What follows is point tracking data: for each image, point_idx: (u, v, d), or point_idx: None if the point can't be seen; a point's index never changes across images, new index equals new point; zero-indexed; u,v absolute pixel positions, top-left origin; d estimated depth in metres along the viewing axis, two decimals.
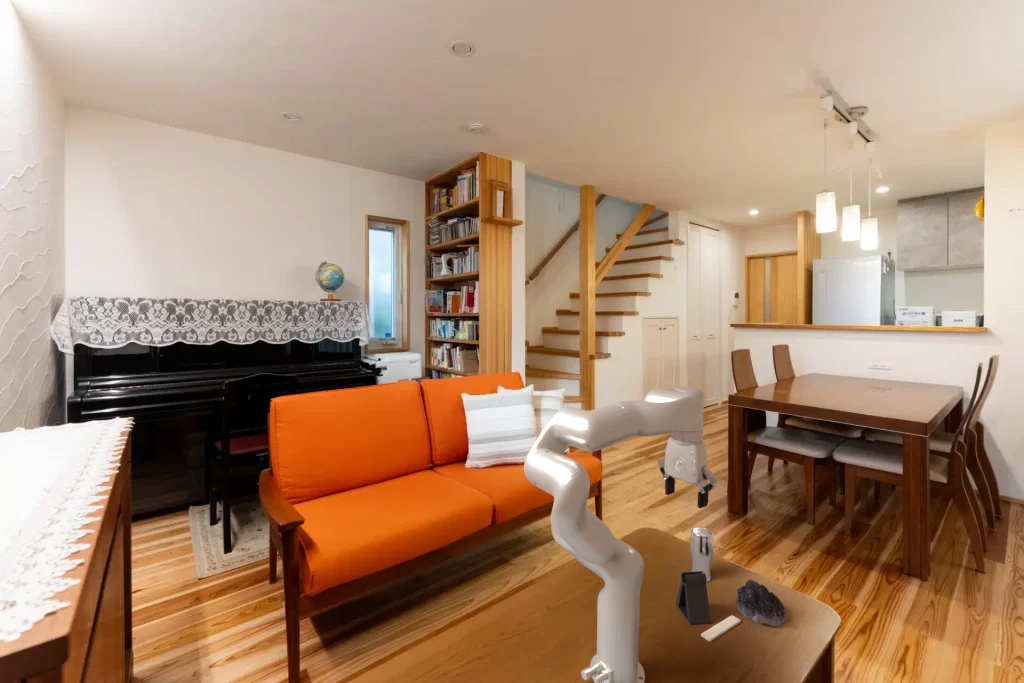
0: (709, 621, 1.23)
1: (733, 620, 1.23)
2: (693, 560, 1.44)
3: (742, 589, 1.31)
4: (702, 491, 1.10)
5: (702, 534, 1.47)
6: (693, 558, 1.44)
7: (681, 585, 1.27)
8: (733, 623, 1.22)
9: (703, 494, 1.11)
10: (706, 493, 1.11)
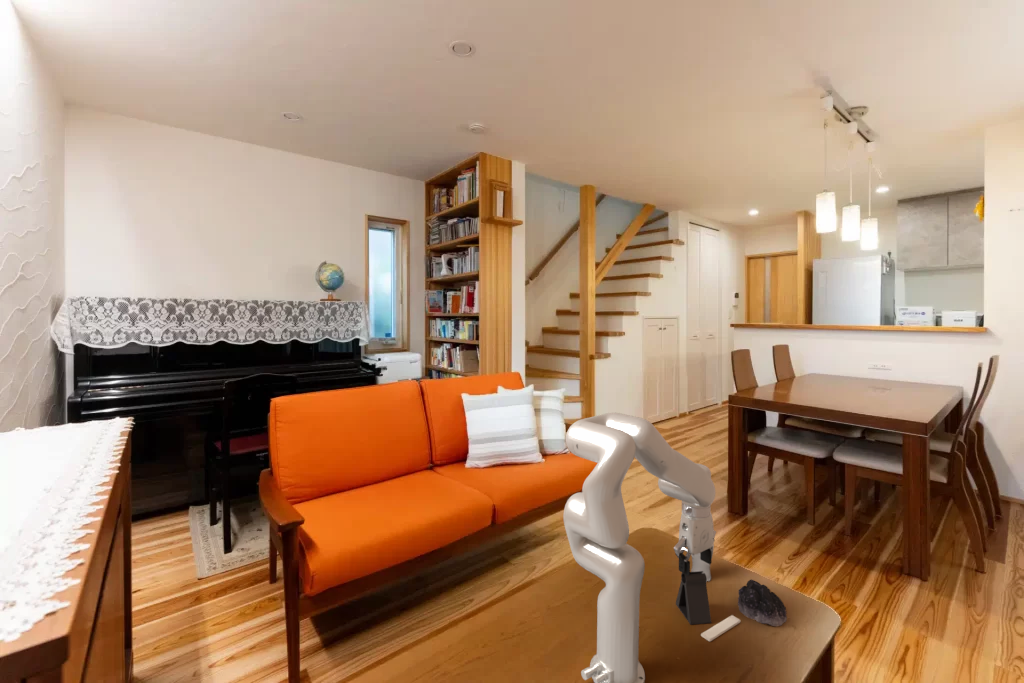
0: (709, 621, 1.23)
1: (733, 620, 1.23)
2: (693, 560, 1.44)
3: (743, 589, 1.31)
4: (711, 548, 1.28)
5: None
6: (693, 558, 1.44)
7: (681, 585, 1.27)
8: (733, 623, 1.22)
9: None
10: None
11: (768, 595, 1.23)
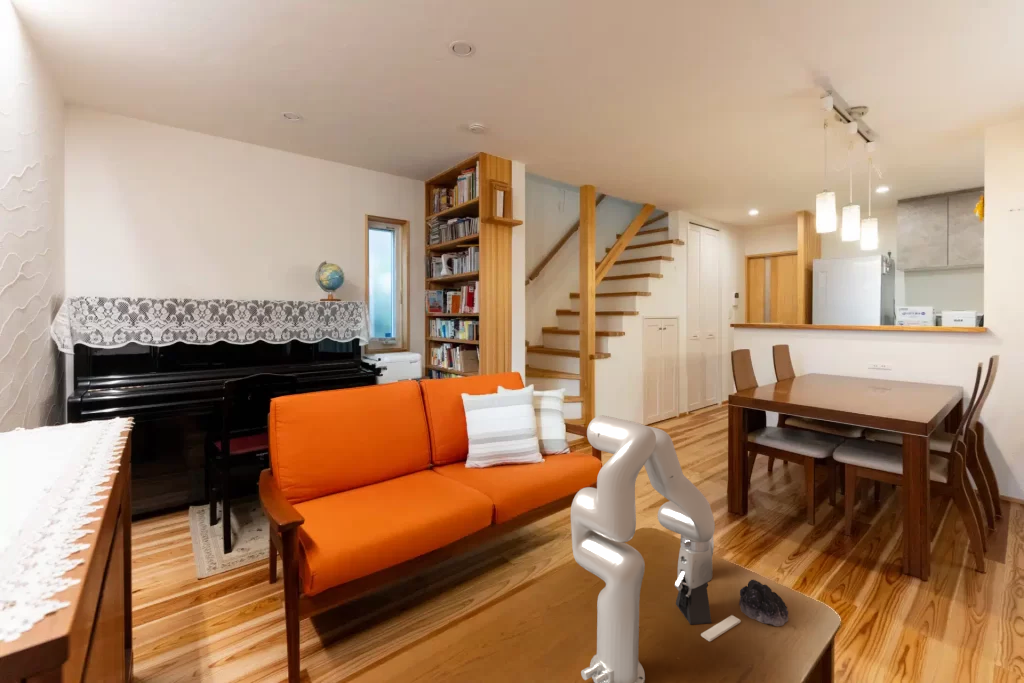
0: (709, 621, 1.22)
1: (733, 620, 1.23)
2: None
3: (745, 589, 1.31)
4: None
5: None
6: None
7: None
8: (733, 623, 1.22)
9: None
10: None
11: (770, 595, 1.23)
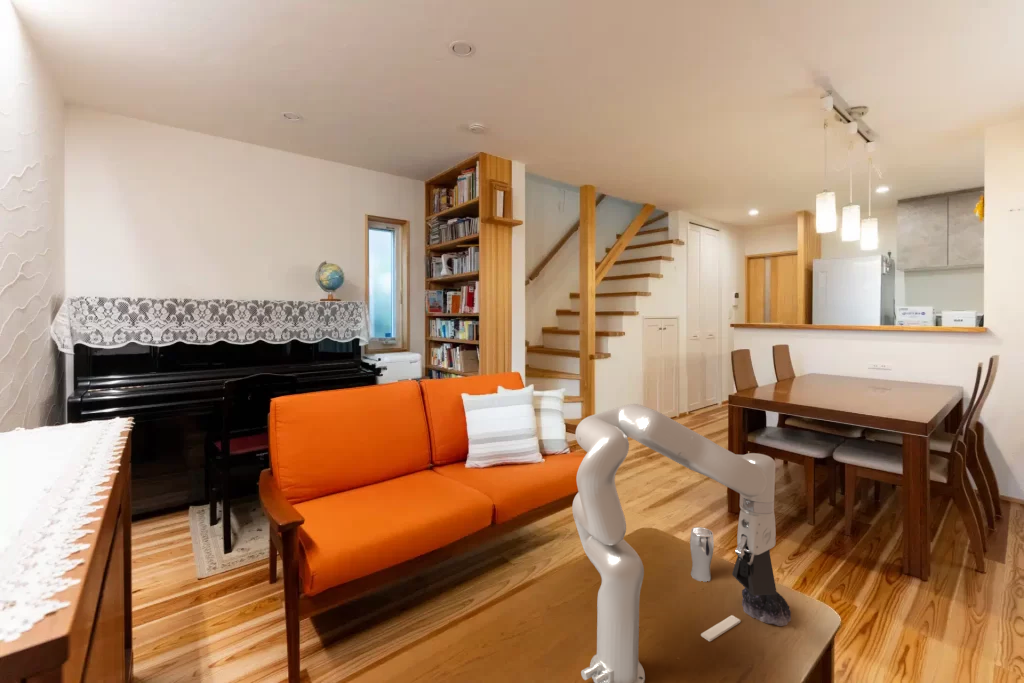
0: (774, 592, 1.09)
1: (733, 620, 1.23)
2: (693, 560, 1.44)
3: None
4: None
5: (702, 534, 1.47)
6: (693, 558, 1.44)
7: None
8: (733, 623, 1.22)
9: None
10: None
11: (773, 595, 1.23)
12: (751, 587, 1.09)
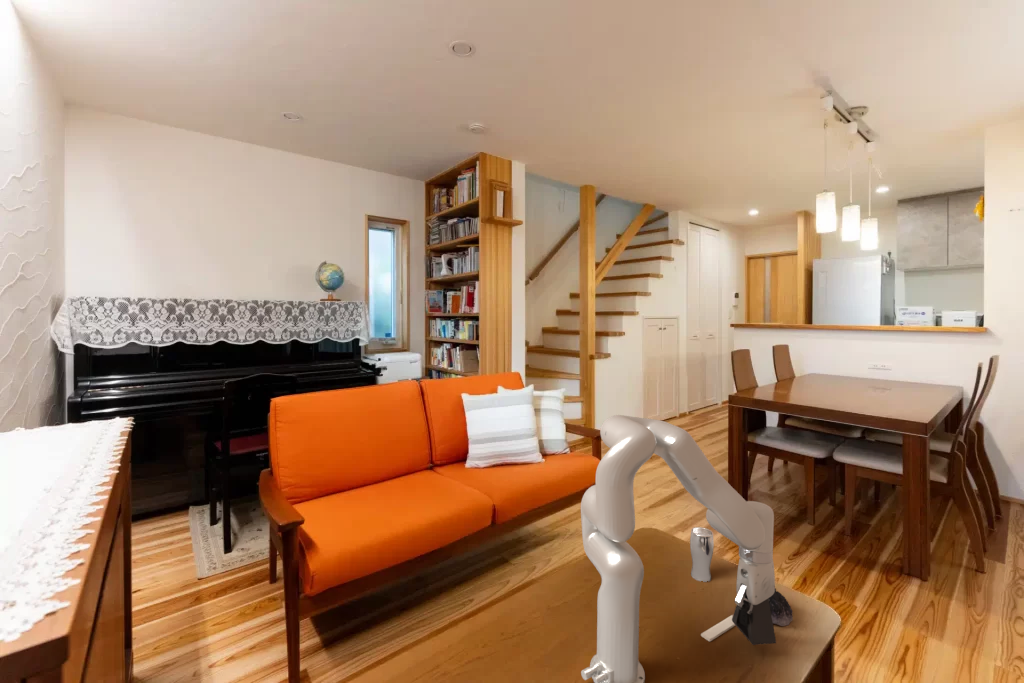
0: (773, 641, 1.10)
1: None
2: (693, 560, 1.44)
3: None
4: None
5: (702, 534, 1.47)
6: (693, 558, 1.44)
7: None
8: (733, 623, 1.22)
9: None
10: None
11: (775, 595, 1.23)
12: (750, 636, 1.10)
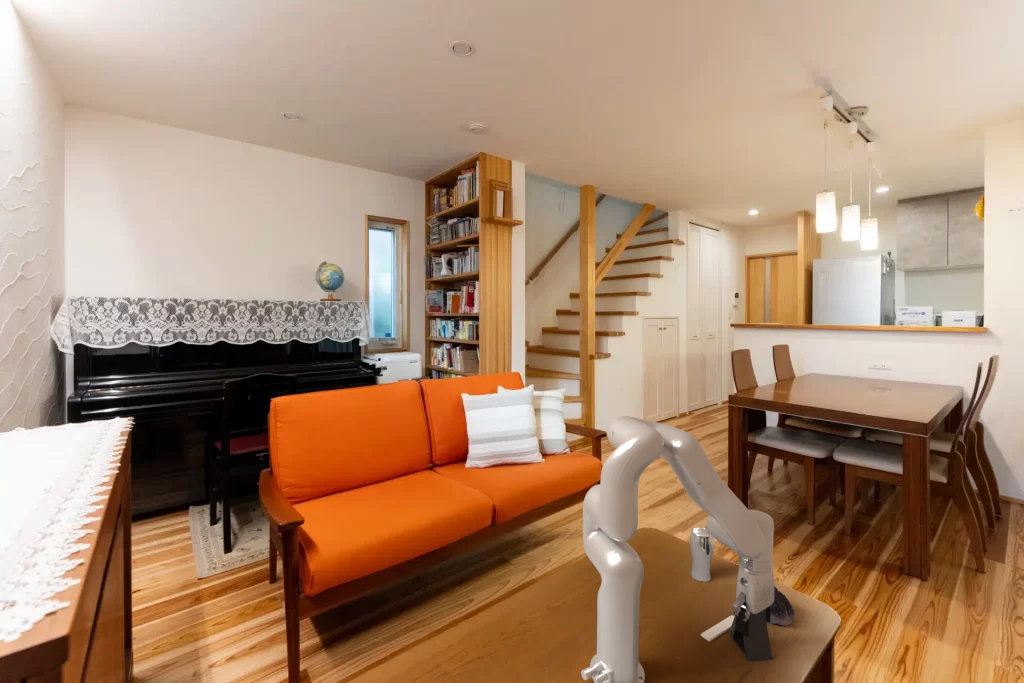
0: (770, 657, 1.10)
1: None
2: (693, 560, 1.44)
3: None
4: (770, 604, 1.16)
5: (702, 534, 1.47)
6: (693, 558, 1.44)
7: None
8: None
9: (768, 606, 1.16)
10: None
11: (777, 595, 1.23)
12: (747, 652, 1.10)
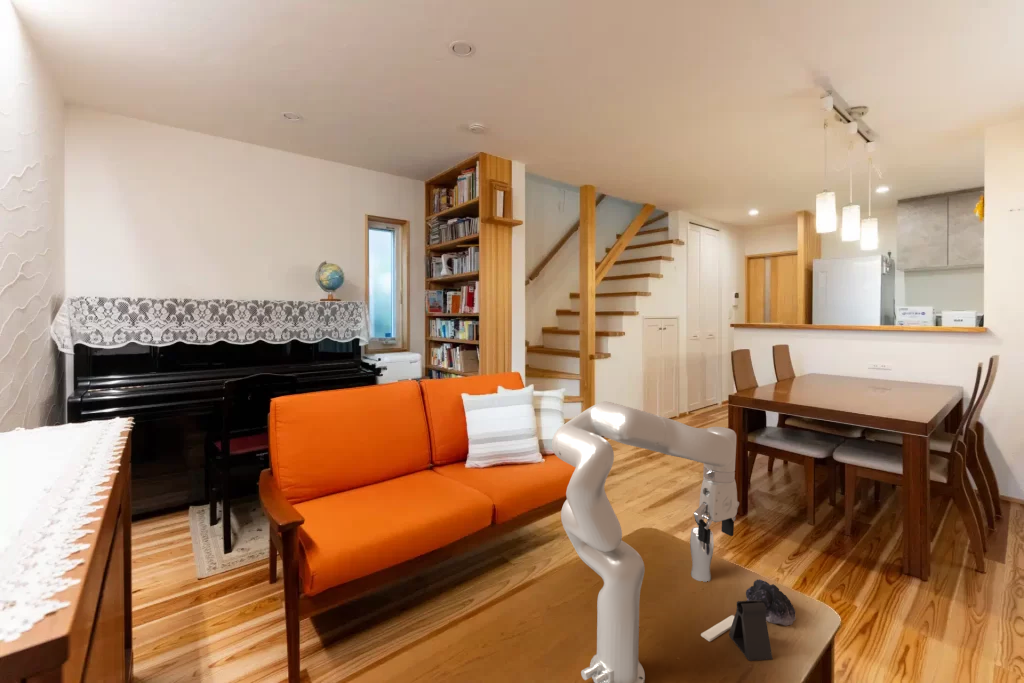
0: (770, 657, 1.10)
1: None
2: (693, 560, 1.44)
3: (751, 589, 1.31)
4: (733, 519, 1.20)
5: None
6: (693, 558, 1.44)
7: (736, 615, 1.14)
8: None
9: None
10: None
11: (779, 595, 1.23)
12: (747, 652, 1.10)
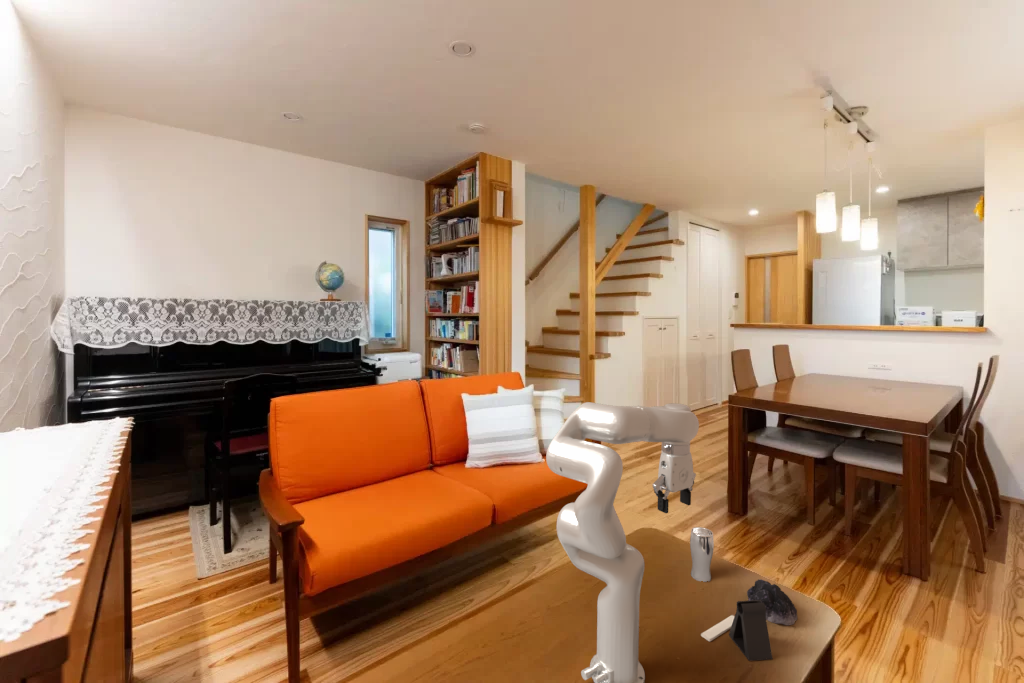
0: (770, 657, 1.10)
1: None
2: (693, 560, 1.44)
3: (752, 589, 1.31)
4: (690, 489, 1.28)
5: (702, 534, 1.47)
6: (693, 558, 1.44)
7: (736, 615, 1.14)
8: None
9: None
10: None
11: (780, 594, 1.23)
12: (747, 652, 1.10)
